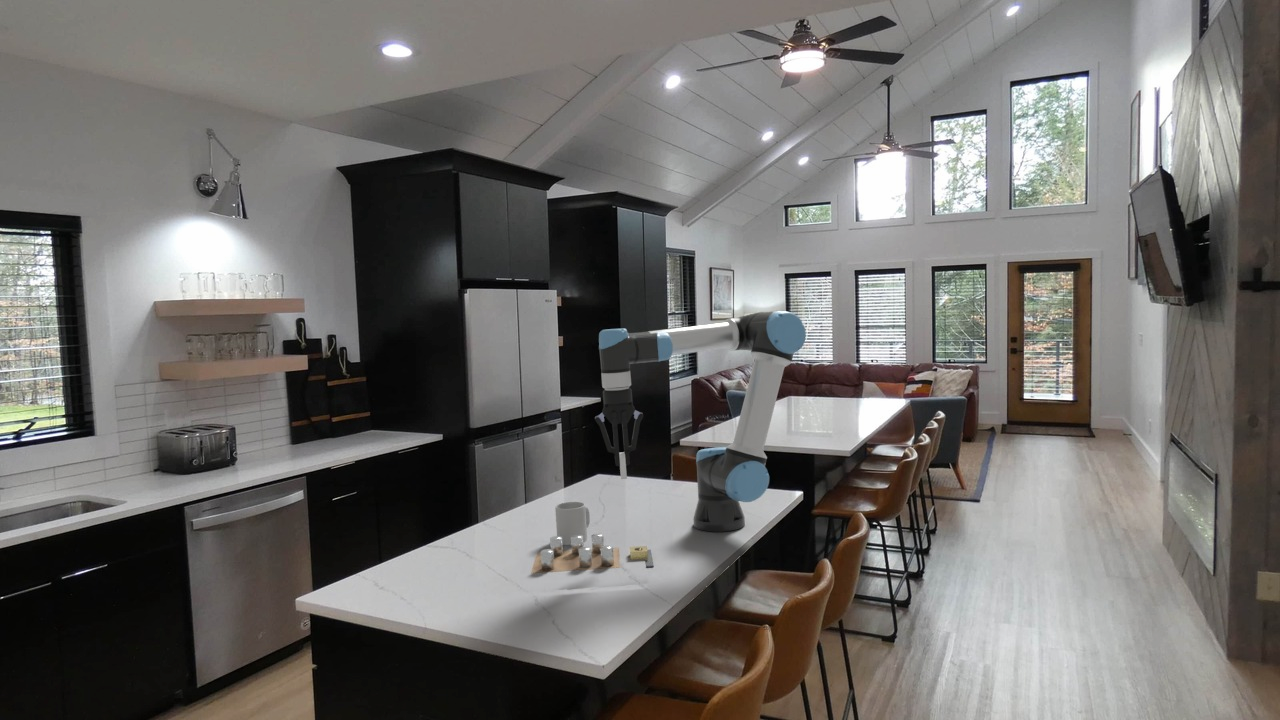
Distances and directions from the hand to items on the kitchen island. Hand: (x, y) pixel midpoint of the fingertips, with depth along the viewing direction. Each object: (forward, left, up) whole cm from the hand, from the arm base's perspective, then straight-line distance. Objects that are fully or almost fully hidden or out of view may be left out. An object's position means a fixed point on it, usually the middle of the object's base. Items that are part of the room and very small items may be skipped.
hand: (623, 477), depth 197 cm
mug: (+14, -16, -21) cm, 30 cm away
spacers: (+13, +3, -20) cm, 24 cm away
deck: (+13, +3, -21) cm, 25 cm away
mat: (-2, +3, -21) cm, 21 cm away
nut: (-3, +3, -21) cm, 21 cm away
